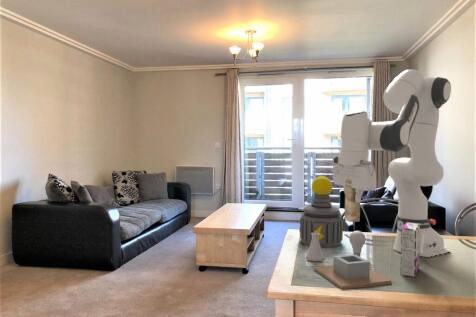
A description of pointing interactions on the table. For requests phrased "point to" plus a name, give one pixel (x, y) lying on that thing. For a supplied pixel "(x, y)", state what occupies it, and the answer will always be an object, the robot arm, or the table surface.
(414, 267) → the candy bar box
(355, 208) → the wooden block
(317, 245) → the flask
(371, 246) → the table surface
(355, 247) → the lightbulb
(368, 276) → the square peg socket base
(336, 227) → the decorative lamp
